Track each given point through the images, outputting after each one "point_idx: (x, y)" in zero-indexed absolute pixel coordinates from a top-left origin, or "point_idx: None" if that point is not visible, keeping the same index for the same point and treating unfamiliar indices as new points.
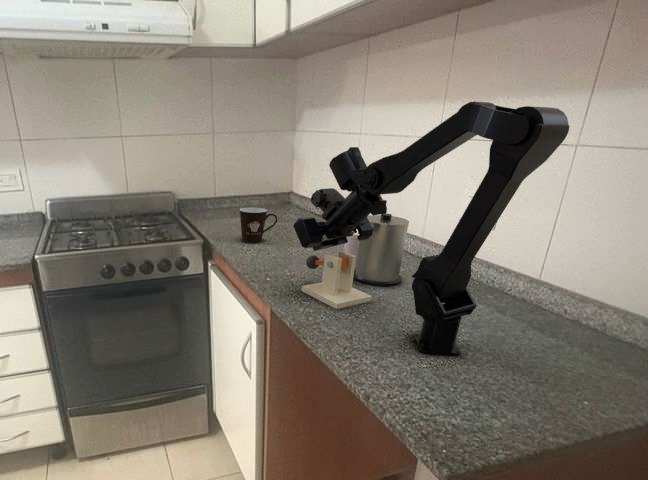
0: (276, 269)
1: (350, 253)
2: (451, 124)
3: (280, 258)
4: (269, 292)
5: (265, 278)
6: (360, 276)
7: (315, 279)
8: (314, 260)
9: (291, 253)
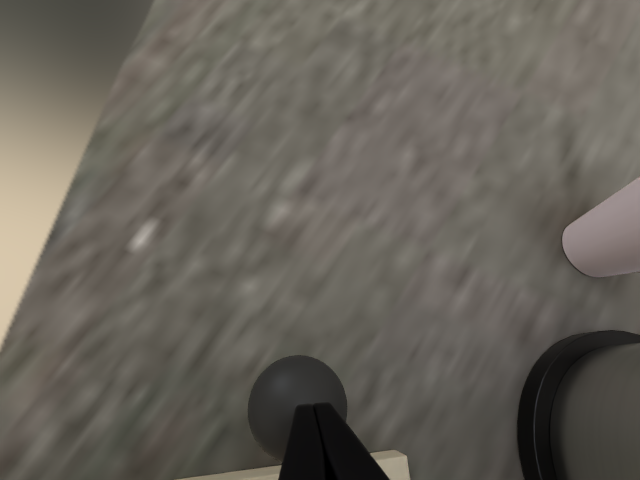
0: (263, 146)
1: (633, 244)
2: None
3: (359, 50)
4: (3, 416)
5: (136, 223)
6: (559, 466)
7: (355, 329)
8: (281, 455)
9: (431, 25)
